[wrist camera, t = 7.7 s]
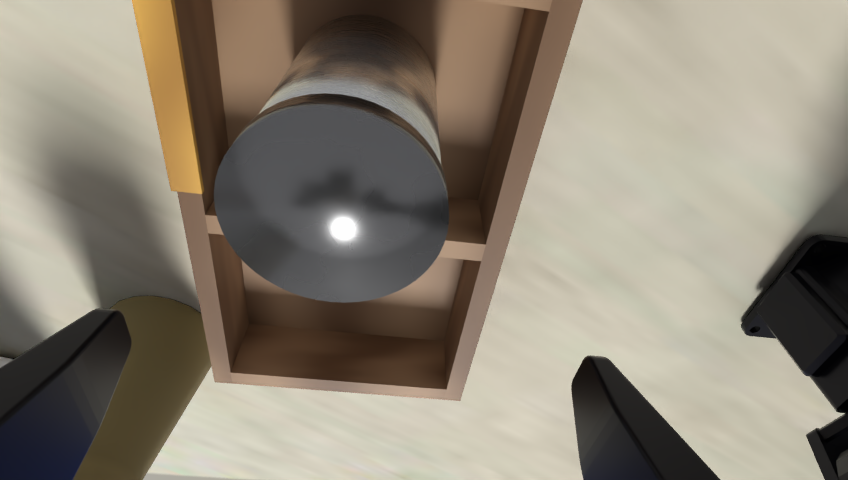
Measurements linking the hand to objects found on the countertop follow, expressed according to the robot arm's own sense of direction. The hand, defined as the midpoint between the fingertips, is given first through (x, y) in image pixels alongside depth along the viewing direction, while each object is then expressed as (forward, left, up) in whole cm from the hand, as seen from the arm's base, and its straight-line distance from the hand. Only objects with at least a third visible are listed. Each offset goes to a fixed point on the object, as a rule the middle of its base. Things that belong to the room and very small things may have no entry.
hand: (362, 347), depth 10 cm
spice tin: (+1, -1, -11) cm, 11 cm away
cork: (+11, +14, -12) cm, 22 cm away
